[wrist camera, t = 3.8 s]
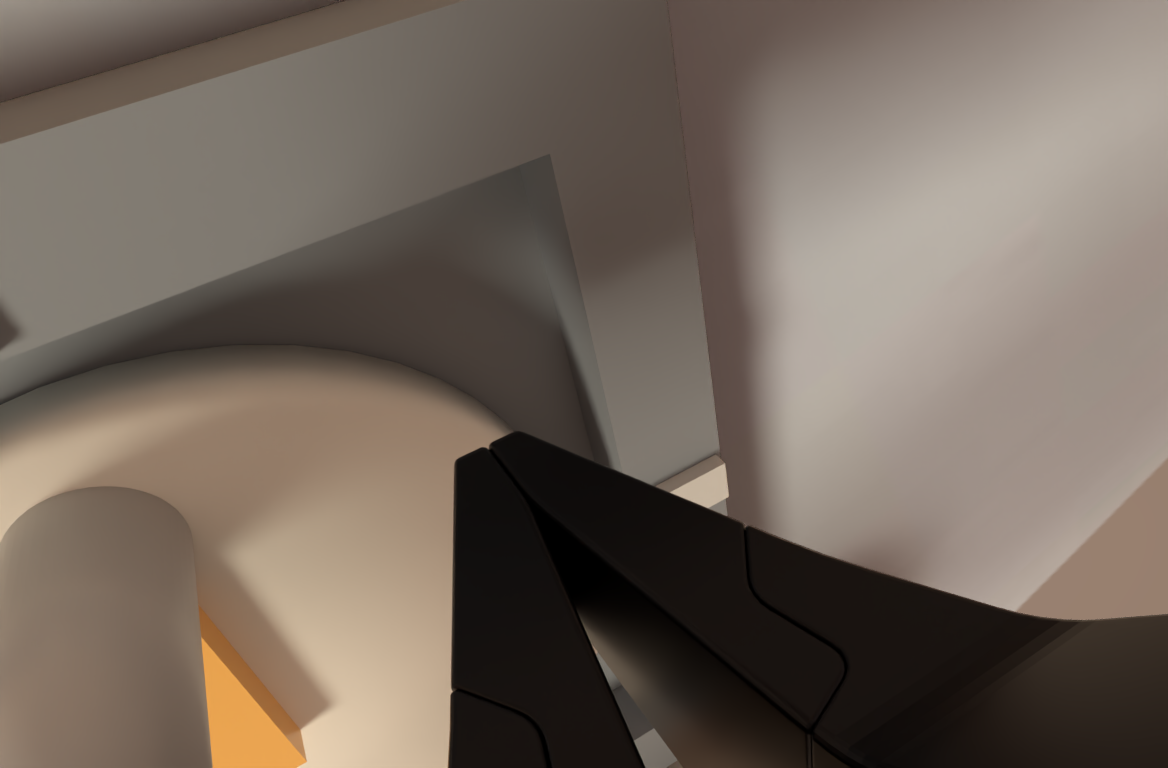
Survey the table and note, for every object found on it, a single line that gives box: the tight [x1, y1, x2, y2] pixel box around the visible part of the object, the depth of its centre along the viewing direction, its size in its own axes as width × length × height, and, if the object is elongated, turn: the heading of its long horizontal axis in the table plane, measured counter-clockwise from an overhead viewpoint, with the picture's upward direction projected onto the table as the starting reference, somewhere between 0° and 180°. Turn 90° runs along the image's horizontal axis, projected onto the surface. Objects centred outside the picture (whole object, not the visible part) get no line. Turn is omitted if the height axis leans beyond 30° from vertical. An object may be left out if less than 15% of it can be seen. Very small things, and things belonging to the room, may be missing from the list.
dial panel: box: [0, 0, 729, 768], centre depth 13 cm, size 18×18×3 cm
